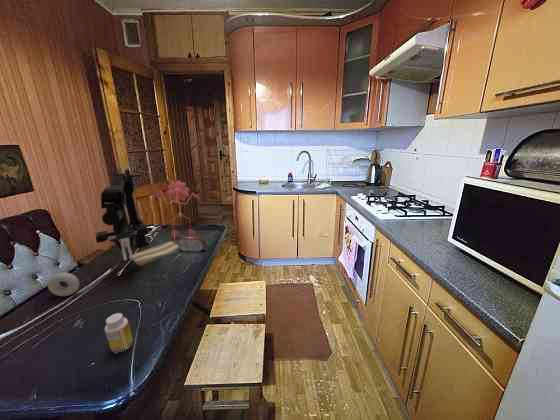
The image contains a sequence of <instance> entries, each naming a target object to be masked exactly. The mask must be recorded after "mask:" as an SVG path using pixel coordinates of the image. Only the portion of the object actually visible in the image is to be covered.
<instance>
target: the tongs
mask: <svg viewBox="0 0 560 420" xmlns="http://www.w3.org/2000/svg"><path fill="white" fill-rule="evenodd" d="M119 241H120V243H121V247H122V251H121V254H122V258H123V261H127V260H128V258H127V257H129V256H130V259H129V260H131V259H132V258H133V256H132V255H133V251H132V249H131V247H130V238H129V237H128V238H123V239H120V240H119ZM126 248H127V251H126ZM127 252H128V254H129V255H128V256H127Z"/></svg>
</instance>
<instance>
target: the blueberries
mask: <svg viewBox="0 0 560 420" xmlns="http://www.w3.org/2000/svg"><path fill="white" fill-rule="evenodd" d="M83 319H84V318H79V319H78V320H77V321H76V322H75V323H74V324H73V326H72V328H73V327H74V328H73V329H76V328H77V329H78V327H79V328H82V329H84V328H85V326H86V324H85V323H87V321H86V320H85V319H84V321H83ZM83 325H84V326H83ZM83 327H84V328H83Z"/></svg>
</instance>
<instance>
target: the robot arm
mask: <svg viewBox="0 0 560 420" xmlns="http://www.w3.org/2000/svg"><path fill="white" fill-rule="evenodd" d="M136 184H137V183H136V181H135V178H134V177H133V176H130V175H127V174H126V173H124V172H122V173H114V174H113V175H112V180H111V183H110V185H109V186H108V187H105V188H104V189H103V190H102V192H101V193H100V199H101V200H100V203H101V204H100V206H101V207H100V208H101V209H105V212H104V214H103V215H102V217H101V220H102V222H103V223H104V224H105V225H108V226H112V230H113V231H111V232H108V230H105V231H103V230H102V231H98V232H96V234H95V241H96V243H97V244H98V243H104V242H107V241H108V240H109V243H110V242H113V243H114V244H115V245H116V246H117V247H118V248H119V250H120V251H121V252H122V247H121V240H120V239H123V238H128V237H129V240H130V247H131V250H132V249H133V246H134V247H136V248H137V249H138V248H141V247H145V246H148V245H150V242H148V241H147V235H149V233H150V232H149V229H148V227H147V225H146V223H144V221H143V220H142V219H141V218H140V216H139V212H138V207H137V205H136V200H135V196H134V191H135V190H136ZM125 206H126V207H125ZM125 208H126V209H125ZM126 210H127V214H128V218H129V220H128V218H127V214H126Z"/></svg>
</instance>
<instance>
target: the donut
mask: <svg viewBox="0 0 560 420" xmlns="http://www.w3.org/2000/svg"><path fill="white" fill-rule="evenodd" d="M60 282H64V283H66V284H67V286H62V285H61V284H60ZM79 287H80V280H79V278H78V277H77V275H75V274H73V273H69V272H57V273H55V274H54V275H52V276H51V277H50V278H49V279H48V281H47V289H48V290H49V292H50V293H52V294H53V295H55V296H59V297H67V296H71V295H73V294H75V293H76V292H77V291H78V290H79Z"/></svg>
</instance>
